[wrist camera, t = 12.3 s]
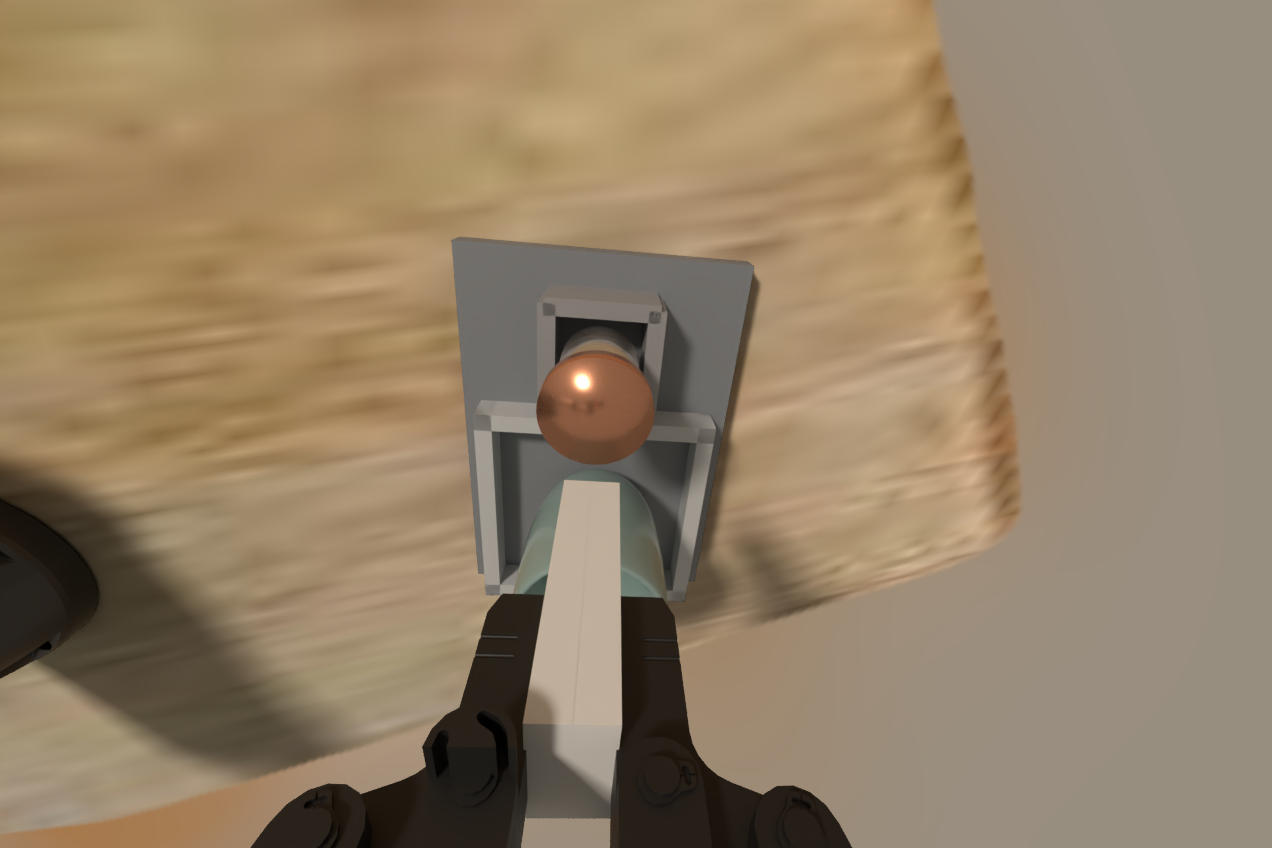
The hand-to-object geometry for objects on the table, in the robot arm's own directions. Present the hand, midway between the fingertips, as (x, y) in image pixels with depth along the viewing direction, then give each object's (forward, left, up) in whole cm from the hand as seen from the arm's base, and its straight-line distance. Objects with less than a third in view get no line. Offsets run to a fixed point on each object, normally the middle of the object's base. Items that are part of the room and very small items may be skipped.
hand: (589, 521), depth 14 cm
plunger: (0, 0, -13) cm, 13 cm away
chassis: (0, -7, -18) cm, 19 cm away
